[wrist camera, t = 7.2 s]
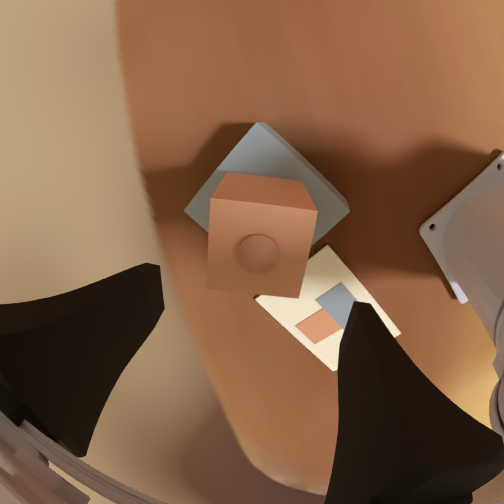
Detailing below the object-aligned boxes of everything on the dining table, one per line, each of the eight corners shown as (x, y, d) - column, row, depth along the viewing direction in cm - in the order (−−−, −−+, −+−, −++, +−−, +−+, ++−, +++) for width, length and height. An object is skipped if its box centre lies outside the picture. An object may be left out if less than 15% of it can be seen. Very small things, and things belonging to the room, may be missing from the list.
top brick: (301, 181, 15) (319, 213, 10) (290, 247, 17) (299, 302, 12) (227, 171, 15) (209, 200, 10) (221, 239, 17) (205, 292, 12)
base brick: (266, 122, 17) (255, 122, 14) (345, 198, 18) (350, 212, 15) (201, 198, 20) (181, 212, 17) (274, 263, 21) (265, 287, 18)
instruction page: (327, 244, 19) (327, 245, 19) (400, 331, 20) (400, 334, 20) (255, 298, 22) (254, 300, 22) (333, 369, 24) (333, 371, 23)
